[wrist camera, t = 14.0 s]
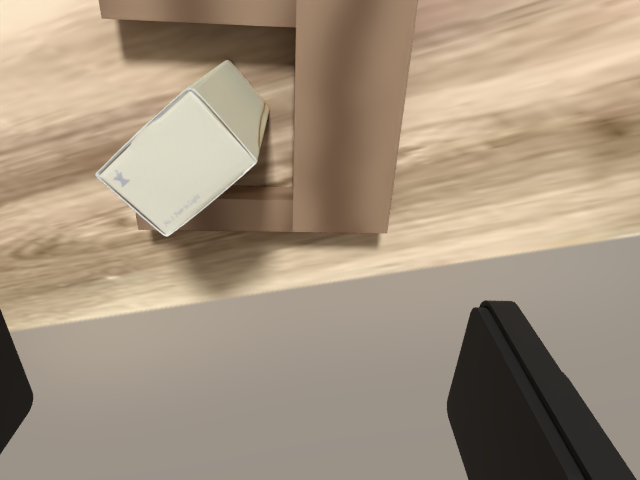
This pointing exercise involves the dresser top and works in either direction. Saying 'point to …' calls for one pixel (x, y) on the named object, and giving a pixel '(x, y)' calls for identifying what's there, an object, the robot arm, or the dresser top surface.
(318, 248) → the dresser top surface
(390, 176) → the notched board
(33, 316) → the dresser top surface
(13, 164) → the dresser top surface
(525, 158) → the dresser top surface
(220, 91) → the skincare box
